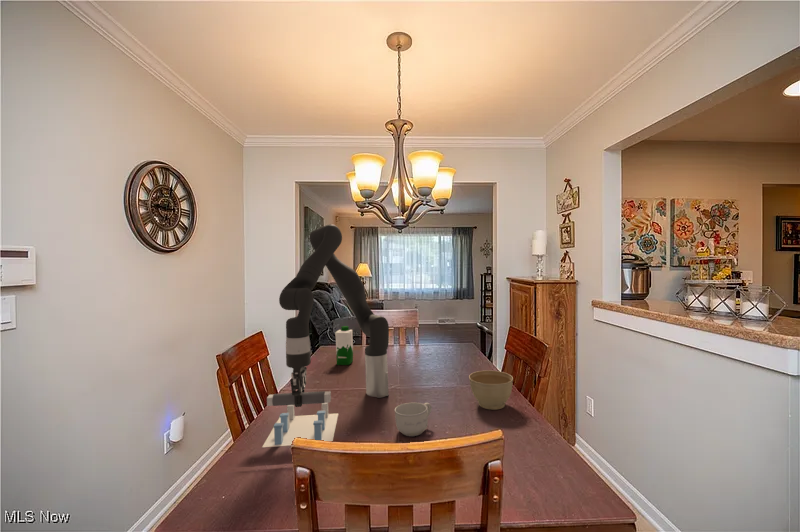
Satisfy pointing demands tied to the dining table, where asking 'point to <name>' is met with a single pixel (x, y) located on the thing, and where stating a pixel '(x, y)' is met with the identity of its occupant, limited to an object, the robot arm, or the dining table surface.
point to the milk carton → (344, 346)
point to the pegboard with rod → (302, 427)
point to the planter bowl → (491, 388)
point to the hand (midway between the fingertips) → (299, 403)
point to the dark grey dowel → (306, 398)
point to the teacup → (412, 418)
